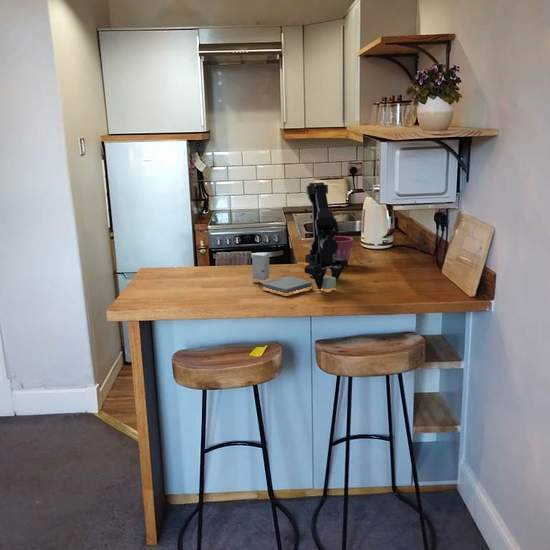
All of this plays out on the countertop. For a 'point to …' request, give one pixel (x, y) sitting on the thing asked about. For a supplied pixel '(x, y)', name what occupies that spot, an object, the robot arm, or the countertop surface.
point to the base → (287, 284)
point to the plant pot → (343, 247)
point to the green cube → (328, 282)
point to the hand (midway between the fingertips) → (326, 287)
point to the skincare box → (260, 266)
